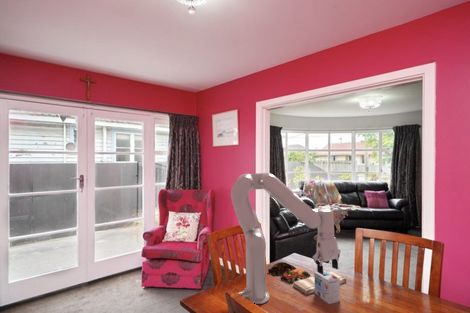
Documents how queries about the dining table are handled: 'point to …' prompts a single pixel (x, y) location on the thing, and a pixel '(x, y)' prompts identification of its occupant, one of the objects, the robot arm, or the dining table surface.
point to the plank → (312, 283)
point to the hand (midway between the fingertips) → (327, 270)
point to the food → (287, 272)
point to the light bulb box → (327, 287)
